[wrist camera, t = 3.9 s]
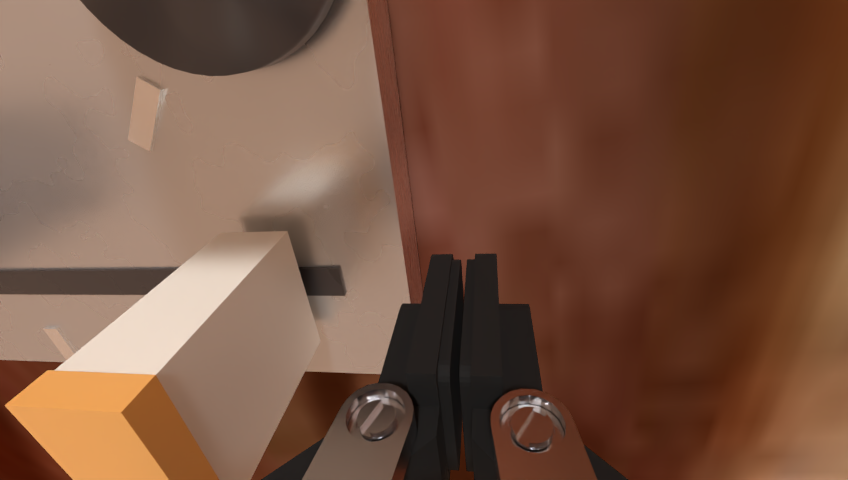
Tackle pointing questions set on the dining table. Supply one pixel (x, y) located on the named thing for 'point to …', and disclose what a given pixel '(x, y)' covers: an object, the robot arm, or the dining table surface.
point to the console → (198, 177)
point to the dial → (212, 30)
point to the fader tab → (183, 371)
